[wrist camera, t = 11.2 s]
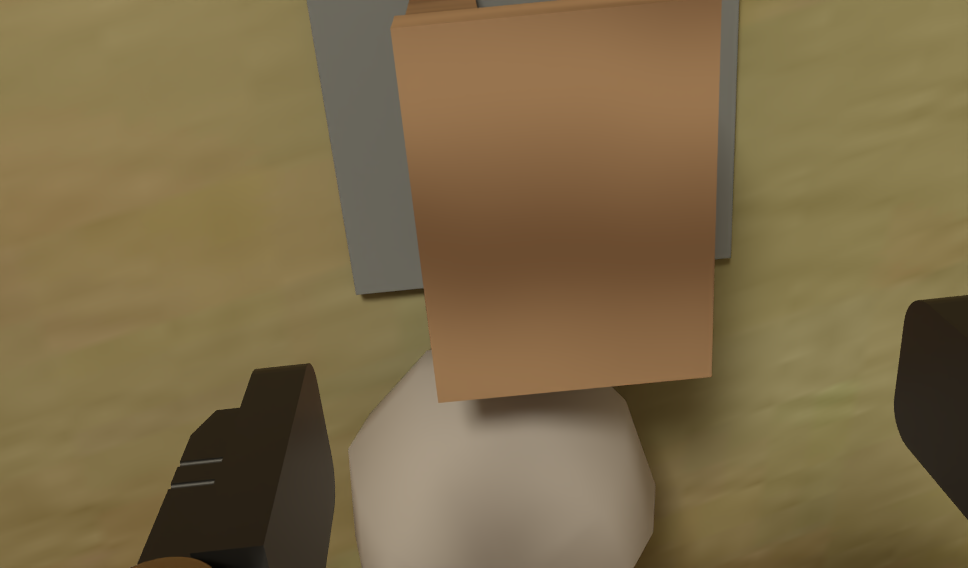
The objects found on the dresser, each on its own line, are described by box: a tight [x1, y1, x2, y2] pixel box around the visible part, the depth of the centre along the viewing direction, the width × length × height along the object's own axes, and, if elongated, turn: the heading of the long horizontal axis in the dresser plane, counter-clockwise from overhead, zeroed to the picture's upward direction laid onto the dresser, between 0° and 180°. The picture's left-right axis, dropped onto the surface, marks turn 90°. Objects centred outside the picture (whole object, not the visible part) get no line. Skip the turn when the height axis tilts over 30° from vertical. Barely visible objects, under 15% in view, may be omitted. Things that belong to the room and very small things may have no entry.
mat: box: [307, 0, 739, 295], centre depth 24 cm, size 11×9×1 cm
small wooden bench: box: [390, 0, 722, 403], centre depth 21 cm, size 8×6×7 cm
